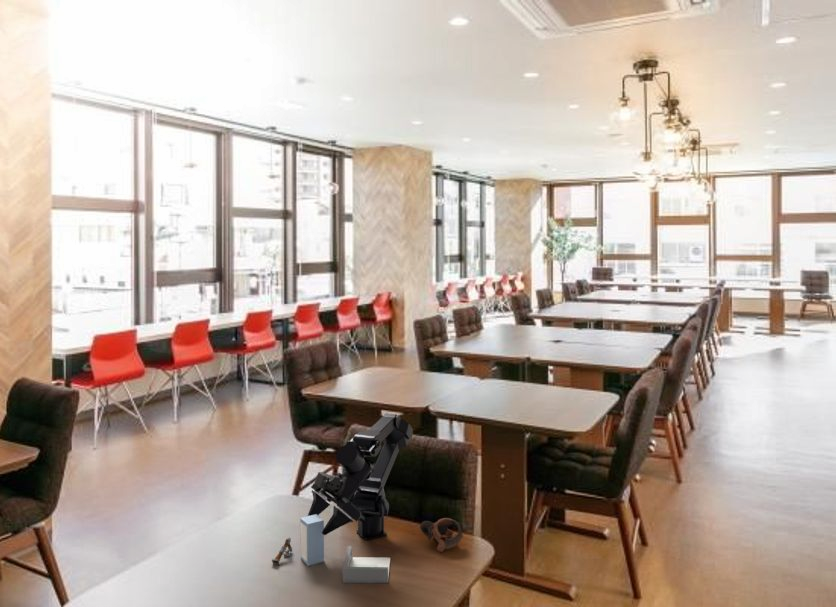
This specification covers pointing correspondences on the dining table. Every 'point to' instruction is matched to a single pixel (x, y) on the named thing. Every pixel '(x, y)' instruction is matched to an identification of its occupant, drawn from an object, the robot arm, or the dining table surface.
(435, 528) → the pottery mug
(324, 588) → the dining table surface
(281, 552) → the wooden post with brackets
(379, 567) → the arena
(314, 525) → the slate block
